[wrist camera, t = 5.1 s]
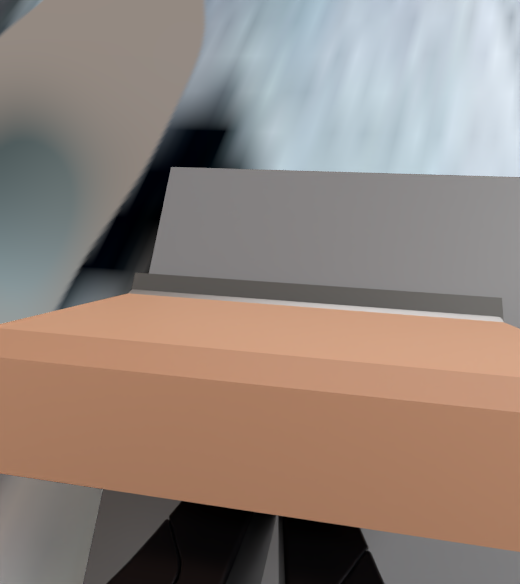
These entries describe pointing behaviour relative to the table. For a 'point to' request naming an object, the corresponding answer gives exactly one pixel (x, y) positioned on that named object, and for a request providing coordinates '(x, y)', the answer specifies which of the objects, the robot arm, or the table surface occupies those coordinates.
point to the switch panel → (334, 300)
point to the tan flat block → (274, 410)
